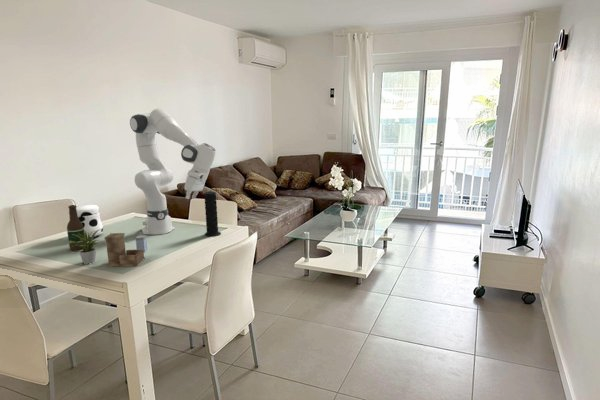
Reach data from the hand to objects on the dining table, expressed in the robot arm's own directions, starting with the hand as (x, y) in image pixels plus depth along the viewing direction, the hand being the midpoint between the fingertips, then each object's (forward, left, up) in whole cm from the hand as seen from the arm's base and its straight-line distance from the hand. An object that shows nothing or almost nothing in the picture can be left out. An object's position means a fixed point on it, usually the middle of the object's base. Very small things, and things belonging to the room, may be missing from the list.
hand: (190, 198), depth 203 cm
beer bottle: (-38, -50, -27) cm, 68 cm away
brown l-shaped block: (+2, -35, -27) cm, 44 cm away
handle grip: (-15, +18, -27) cm, 35 cm away
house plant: (-11, -48, -27) cm, 57 cm away
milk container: (-59, -42, -27) cm, 77 cm away
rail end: (-11, -24, -27) cm, 38 cm away
